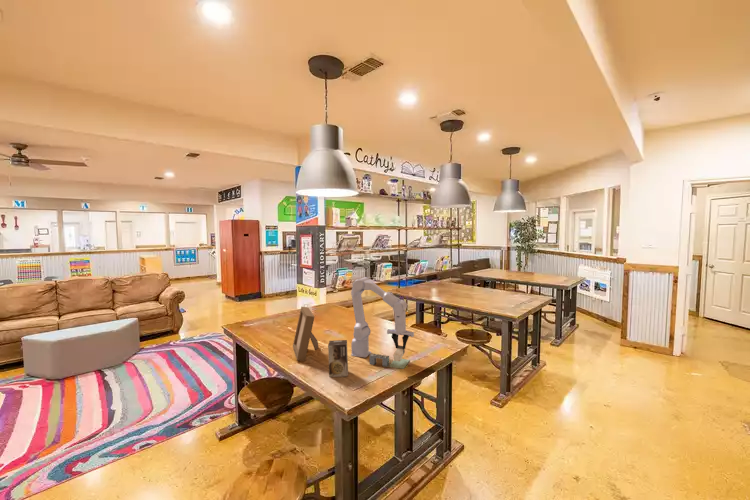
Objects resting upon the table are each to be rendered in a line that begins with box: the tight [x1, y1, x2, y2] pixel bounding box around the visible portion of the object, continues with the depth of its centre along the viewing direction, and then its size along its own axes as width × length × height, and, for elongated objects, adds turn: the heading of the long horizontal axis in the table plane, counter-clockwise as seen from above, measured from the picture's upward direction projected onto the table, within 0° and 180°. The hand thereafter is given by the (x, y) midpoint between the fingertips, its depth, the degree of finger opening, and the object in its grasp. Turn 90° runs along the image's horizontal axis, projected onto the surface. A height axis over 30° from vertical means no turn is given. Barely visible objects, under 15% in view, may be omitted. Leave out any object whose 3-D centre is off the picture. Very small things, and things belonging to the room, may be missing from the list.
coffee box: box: [327, 339, 349, 378], centre depth 156 cm, size 9×6×16 cm
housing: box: [368, 352, 390, 368], centre depth 166 cm, size 10×3×5 cm, turn 67°
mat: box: [388, 358, 410, 370], centre depth 167 cm, size 8×11×1 cm
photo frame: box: [292, 306, 319, 362], centre depth 183 cm, size 15×22×25 cm
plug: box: [392, 344, 406, 361], centre depth 166 cm, size 4×8×4 cm, turn 158°
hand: (400, 348), depth 168 cm, fingers closed on plug, 3 cm apart
